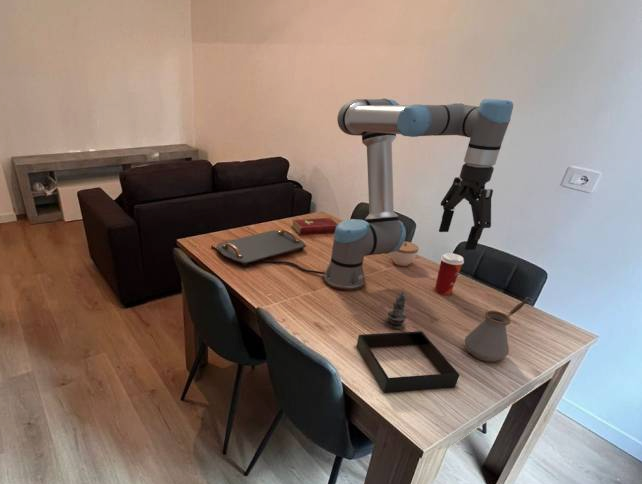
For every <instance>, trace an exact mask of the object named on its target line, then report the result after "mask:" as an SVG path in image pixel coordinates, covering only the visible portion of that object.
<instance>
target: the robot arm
mask: <svg viewBox="0 0 642 484" xmlns="http://www.w3.org/2000/svg"><path fill="white" fill-rule="evenodd" d="M513 110H514V102H513V101H511V100H509V99H498V98H483V99H482V100H481V101H480V103H479V106H476V105H469V104H464V103H449V104H400V103H398V101H396V100H394V99H390V98H389V99H388V98H356V99H351V100H349V101H347V102H345V103H344V104H343V105H342V106H341V107H340V109H339V111H338V113H337V116H336V117H337V119H336V120H337V121H336V122H337V125H338V127H339V129H340V130H341V131H342V132H343V133H344V134H346V135H349V136H360V137H361V142H362V144H363V145H364V146H365V147H366V160H367V161H366V162H367V163H366V164H367V187H368V188H367V189H368V191H367V192H368V208H369V209H368V215H367V216H366V217H365V220H364V219H360V218H359V219H358V218H357V219H355V218H349V219H345V220H343V221H342V220H341V221H340V222H338V225H337V226H336V229H335V233H333V243H332V249H331V257H330V262H329V264H328V265H327V268H326V269H325V271H319V270H311V269H307V268H303V267H301V266H300V265H298V264H296V263H294V262H291V261H286V260H272V259H261V260H257V261H256V262H261V263H271V264H272V263H273V264H286V265H291V266H294V267H295V268H297V269H299V270H300V271H303V272H306V273H313V274H319V275H323V282H324V283H325V284H326V285H327V286H328V287H330V288H332V289H335V290H339V291H346V292H347V291H349V292H350V291H356V290H357V291H358V290H360V289H361V288H363V287H364V285H365V280H366V278H365V274H364V268H363V263H364V258H365V257H367V256H375V255H384V254H385V255H388V254H391V252H395V251H397V250H399V249H400V248H401V246H402V245H403V243H404V241H405V242H406V237H407V230H406V226H405V225H404V223H403V222H402V221H401V220H399V215H398V214H397V213H396V212H395V210H394V180H393V179H394V177H393V176H394V173H393V142H394V140H395V139H397V135H401V136H403V137H410V138H416V137H417V138H418V137H432V136H435V137H436V136H437V137H438V136H440V137H441V136H460V137H466V138H469V141H468V145H467V148H466V152H465V155H464V158H463V162H464V163H463V164H462V166H461V169H460V172H459V173H460V174H459V176H458V177H454V178H453V182H452V184H451V186H450V188H449V189H448V190H447V192H446V194H445V195H444V197H443V198H442V200H441V202H440V206H441V207H442V208H443V213H442V216H441V221H440V225H439V229H438V232H439V233H449V232H450V227H451V224H452V220H453V217H454V213H455V210H456V209H455V208H456V207H457V206H458V205H459V204H460V203H461V202H462V201H463V200H466V201H467V202H468V204H469V205H470V207H471V213H472V220H473V225H472V226H471V228H470V231H469V234H468V237H467V240H466V243H465V247H464V250H465V251H476V249H477V246H478V243H479V240H480V239H481V237H482V234H483V231H484V229H490V228H491V227H492V197H493V193H494V190H493V189H492V188H486V184H487V183H489V182H490V181H491V180H492V176H493V173H494V170H495V168H494V166H495V165H496V163H497V161H498V157H499V154H500V150H501V148H502V144H503V141H504V138H505V135H506V133H507V129H508V127H509V124H510V122H511V118H512V114H513ZM213 246H214V245H211V248H212V249H213V250H216V251H218V252H219V250H218V249H217V247H216V246H214V247H213ZM215 247H216V248H215Z"/></svg>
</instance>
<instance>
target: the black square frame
mask: <svg viewBox="0 0 642 484" xmlns="http://www.w3.org/2000/svg"><path fill="white" fill-rule="evenodd" d="M405 346H417V347H418V348H419V349H420V351H422V353H423V354H424V355H425V357H426V358H427V359H428V360H429V361H430V363H431V364H432V365H433V367H434V368H435V369H436V370H437V372H438V373H435V374H421V375H410V376H409V375H407V376H393V377H389V376H388V374H387V372H386V371H385V370H384V368H383V366H382V365H381V364H380V362H379V360H378V358H377V357H376V356H375V354H374V352H373V351H372V349H373V348H388V347H391V348H392V347H405ZM356 349H357V351H358V353H359V354H360V356H361V358H362V359H363V361H364V363H365V364H366V366H367V368H368V369H369V371H370V373H371V374H372V376H373V378H374V380H375V381H376V383H377V385H378V387H379V388H380V390H381V392H382V393H383V394H394V393H405V392H406V393H408V392H420V391H421V392H422V391H432V390H433V391H434V390H445V389H446V390H447V389H456V386H457V384H458V381H459V378H460V373H459V372H458V371H457V370H456V369H455V367H453V365H452V363H450V362H449V360H448V359H447V358H446V357H445V356H444V355H443V354H442V352H440V349H438V348H437V347H436V346H435V344H434V343H433V342H432V341H431V340H430V339H429V337H428V336H427V335H426V334H425V333H424V332H423V330H417V331H416V330H415V331H399V332H398V331H397V332H383V333H366V334H365V333H364V334H358V336H357V341H356Z"/></svg>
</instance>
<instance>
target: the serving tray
mask: <svg viewBox="0 0 642 484" xmlns="http://www.w3.org/2000/svg"><path fill="white" fill-rule="evenodd" d="M306 247H307V246H306V244H305V243H304V241H303V240H302V239H300V238H299V237H298V236H297V235H296V233H294V232H293V231H291V230H289V229H285V228H284V229H282V230H274V229H273V230H269V231H265V232H261V233H256V234H252V235H247V236H243V237H240V238H235V239H231V240H227V241H222V242H219V243H217V244H216V248H218V250H219V251H218V250H217V251H218V252H219V253H220V254H222V255H223V256H224V257H226V258H229V259H230V260H233V261H235V262H238V263H241V266H242V268H246V267H247V266H248V264H250V263H253V262H258V261H257V260H261V259H263V260H266V259H268V258H270V257H276V256H279V255H281V254H286V253H290V252H292V251H296V250H299V251H300V252H303V251H304V249H305V248H306Z"/></svg>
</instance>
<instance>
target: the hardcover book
mask: <svg viewBox="0 0 642 484" xmlns="http://www.w3.org/2000/svg"><path fill="white" fill-rule="evenodd" d="M291 221H292V225H291V228H292V230H294V232H295V233H296V234H297V235H298V236H308V235H309V236H311V235H322V234H323V235H326V234H335V229H336V226H337V225H338V224H339V222H337V221H336V220H335V219H334V218H333V217H313V218H296V219H295V218H294V219H291Z"/></svg>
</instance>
